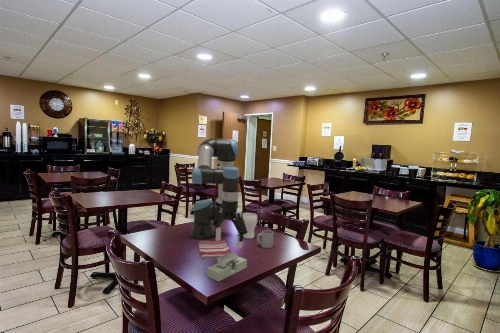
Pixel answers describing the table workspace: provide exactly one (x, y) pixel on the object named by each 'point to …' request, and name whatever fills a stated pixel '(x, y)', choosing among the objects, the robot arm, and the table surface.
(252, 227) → the cup
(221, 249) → the dish towel
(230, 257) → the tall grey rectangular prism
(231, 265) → the rail
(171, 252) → the table surface
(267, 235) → the cup
